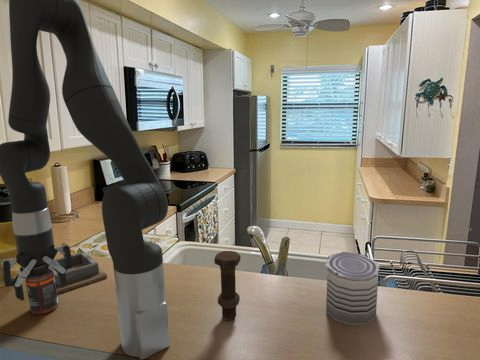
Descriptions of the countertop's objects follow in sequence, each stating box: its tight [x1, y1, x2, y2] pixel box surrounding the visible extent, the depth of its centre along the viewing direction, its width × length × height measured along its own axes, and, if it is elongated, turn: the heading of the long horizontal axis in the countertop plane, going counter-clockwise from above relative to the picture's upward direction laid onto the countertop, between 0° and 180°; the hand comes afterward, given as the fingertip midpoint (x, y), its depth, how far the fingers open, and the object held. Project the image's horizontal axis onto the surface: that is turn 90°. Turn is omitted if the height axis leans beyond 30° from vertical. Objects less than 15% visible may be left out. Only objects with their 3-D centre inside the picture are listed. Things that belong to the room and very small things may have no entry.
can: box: [325, 251, 380, 326], centre depth 81 cm, size 11×11×12 cm
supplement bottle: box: [25, 264, 59, 315], centre depth 85 cm, size 6×6×11 cm
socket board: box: [49, 251, 108, 295], centre depth 102 cm, size 16×14×4 cm
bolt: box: [213, 250, 241, 321], centre depth 79 cm, size 6×5×15 cm
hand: (42, 292), depth 85 cm, fingers open, 8 cm apart
